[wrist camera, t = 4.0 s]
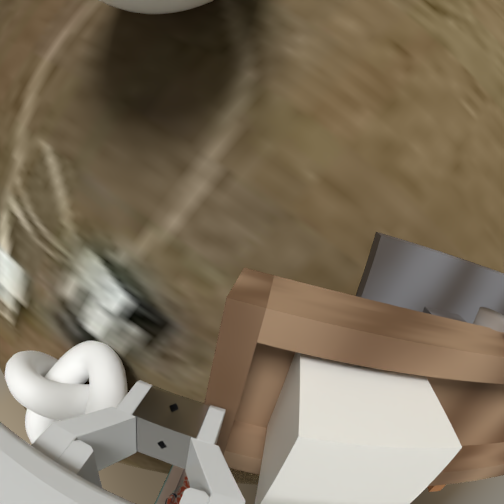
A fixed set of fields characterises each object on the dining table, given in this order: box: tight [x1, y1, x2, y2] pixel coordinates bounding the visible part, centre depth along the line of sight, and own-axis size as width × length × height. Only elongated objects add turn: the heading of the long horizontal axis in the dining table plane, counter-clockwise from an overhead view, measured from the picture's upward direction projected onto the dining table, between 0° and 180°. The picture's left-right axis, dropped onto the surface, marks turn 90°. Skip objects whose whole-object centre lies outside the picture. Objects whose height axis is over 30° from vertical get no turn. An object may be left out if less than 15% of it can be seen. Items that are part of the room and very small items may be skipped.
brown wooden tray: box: [205, 232, 504, 492], centre depth 14 cm, size 25×12×10 cm, turn 77°
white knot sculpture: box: [5, 341, 128, 444], centre depth 20 cm, size 11×12×9 cm
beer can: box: [155, 465, 190, 504], centre depth 19 cm, size 5×5×12 cm
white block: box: [255, 352, 462, 504], centre depth 9 cm, size 5×5×5 cm
